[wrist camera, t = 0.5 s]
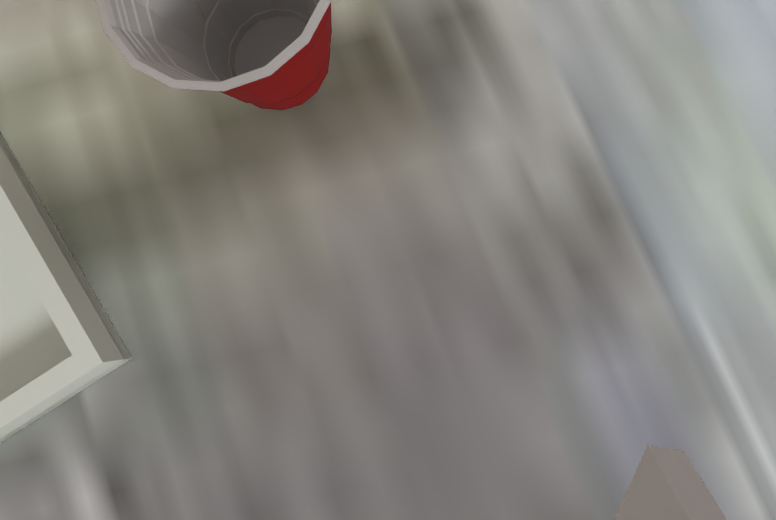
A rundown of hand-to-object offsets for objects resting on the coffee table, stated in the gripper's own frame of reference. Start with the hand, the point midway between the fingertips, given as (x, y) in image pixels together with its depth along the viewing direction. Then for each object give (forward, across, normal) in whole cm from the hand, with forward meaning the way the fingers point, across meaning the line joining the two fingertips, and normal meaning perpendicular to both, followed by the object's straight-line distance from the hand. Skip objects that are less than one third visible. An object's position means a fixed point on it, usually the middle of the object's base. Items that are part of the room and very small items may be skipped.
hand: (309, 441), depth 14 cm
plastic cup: (+31, -5, +2) cm, 32 cm away
